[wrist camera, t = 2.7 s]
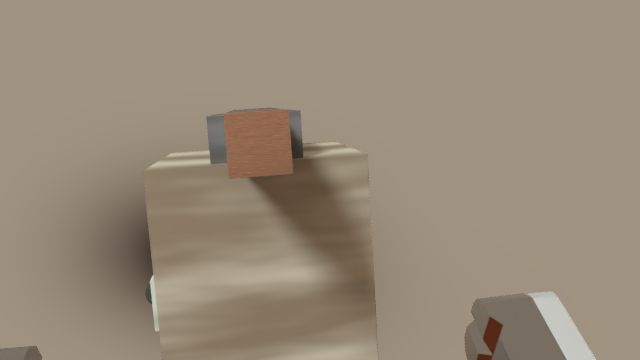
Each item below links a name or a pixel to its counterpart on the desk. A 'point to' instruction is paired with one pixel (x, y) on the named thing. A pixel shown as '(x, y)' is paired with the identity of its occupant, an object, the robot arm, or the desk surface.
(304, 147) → the level stand
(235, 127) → the bar
